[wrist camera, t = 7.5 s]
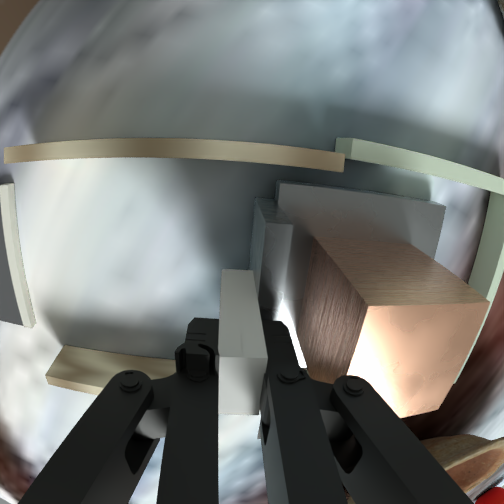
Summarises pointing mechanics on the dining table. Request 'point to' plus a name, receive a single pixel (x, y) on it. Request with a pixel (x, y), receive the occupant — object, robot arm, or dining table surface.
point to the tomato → (492, 496)
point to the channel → (106, 363)
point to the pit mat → (12, 265)
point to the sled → (364, 290)
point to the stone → (501, 6)
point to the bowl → (465, 458)
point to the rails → (500, 203)
